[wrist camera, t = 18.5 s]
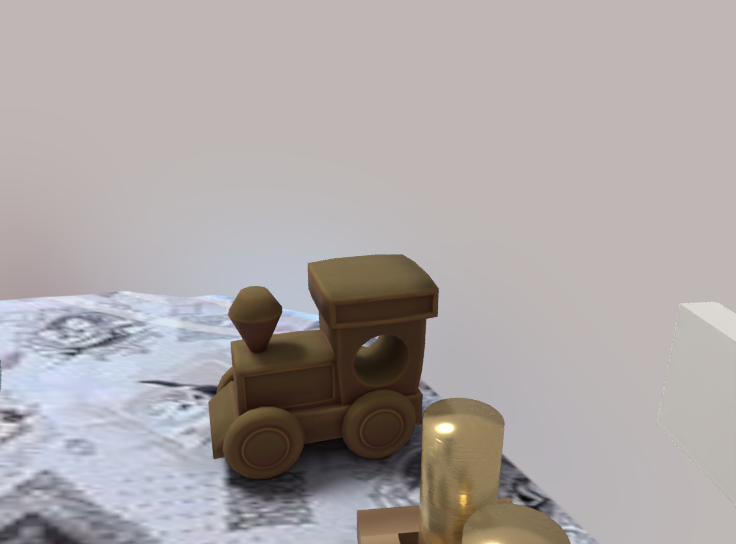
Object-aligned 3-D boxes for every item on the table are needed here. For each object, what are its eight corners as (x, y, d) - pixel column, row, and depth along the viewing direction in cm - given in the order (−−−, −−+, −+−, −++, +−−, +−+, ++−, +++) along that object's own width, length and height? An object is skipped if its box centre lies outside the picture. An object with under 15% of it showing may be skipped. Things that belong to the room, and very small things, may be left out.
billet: (402, 599, 43) (407, 425, 38) (437, 553, 47) (446, 390, 42) (469, 636, 40) (483, 453, 36) (500, 584, 44) (517, 413, 39)
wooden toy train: (398, 393, 68) (401, 248, 63) (437, 455, 58) (445, 289, 52) (210, 421, 63) (194, 266, 58) (217, 495, 53) (198, 316, 47)
